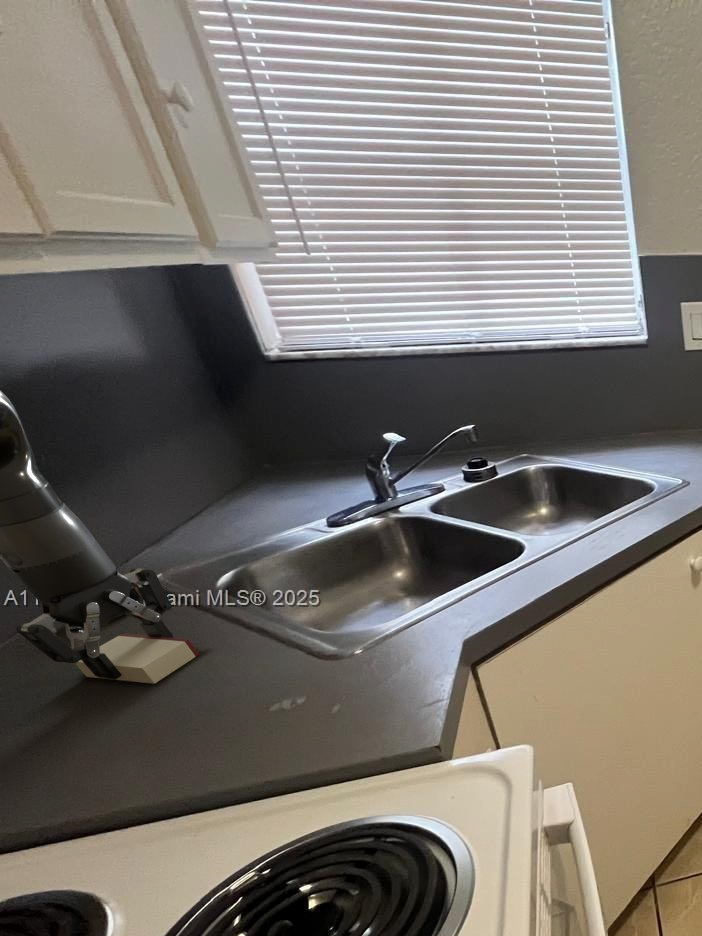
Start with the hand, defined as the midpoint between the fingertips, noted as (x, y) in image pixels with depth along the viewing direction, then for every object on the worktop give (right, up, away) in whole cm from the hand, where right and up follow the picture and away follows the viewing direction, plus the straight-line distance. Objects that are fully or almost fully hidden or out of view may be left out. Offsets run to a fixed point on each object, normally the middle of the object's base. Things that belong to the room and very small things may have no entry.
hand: (140, 660), depth 83 cm
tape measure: (-17, +6, +13) cm, 22 cm away
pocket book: (0, -1, +1) cm, 1 cm away
